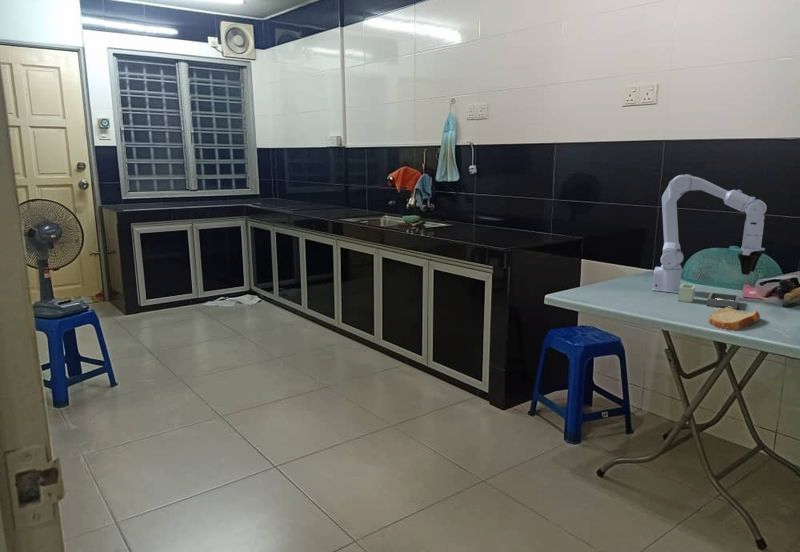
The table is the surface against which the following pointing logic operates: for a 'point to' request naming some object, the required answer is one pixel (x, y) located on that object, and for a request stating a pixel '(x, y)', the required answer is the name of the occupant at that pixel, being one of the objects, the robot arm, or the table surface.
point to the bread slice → (732, 319)
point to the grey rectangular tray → (722, 303)
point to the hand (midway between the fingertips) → (748, 272)
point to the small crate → (686, 293)
